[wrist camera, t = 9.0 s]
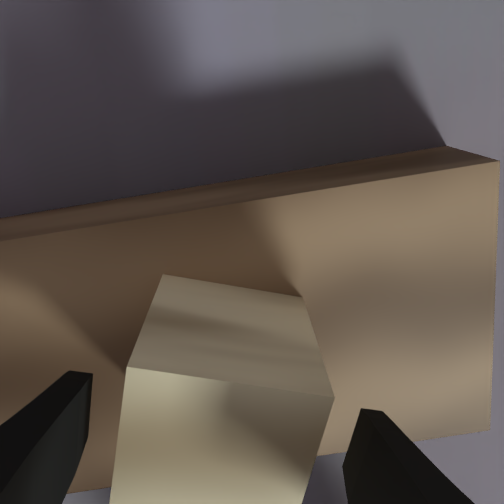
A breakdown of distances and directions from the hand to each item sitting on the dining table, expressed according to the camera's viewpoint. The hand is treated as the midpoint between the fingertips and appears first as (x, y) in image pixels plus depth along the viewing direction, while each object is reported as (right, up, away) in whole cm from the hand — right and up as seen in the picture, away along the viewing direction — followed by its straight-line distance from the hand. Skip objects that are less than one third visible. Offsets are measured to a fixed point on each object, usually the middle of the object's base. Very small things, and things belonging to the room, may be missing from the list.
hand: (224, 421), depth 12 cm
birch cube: (0, +1, +3) cm, 3 cm away
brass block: (0, +3, +7) cm, 7 cm away
